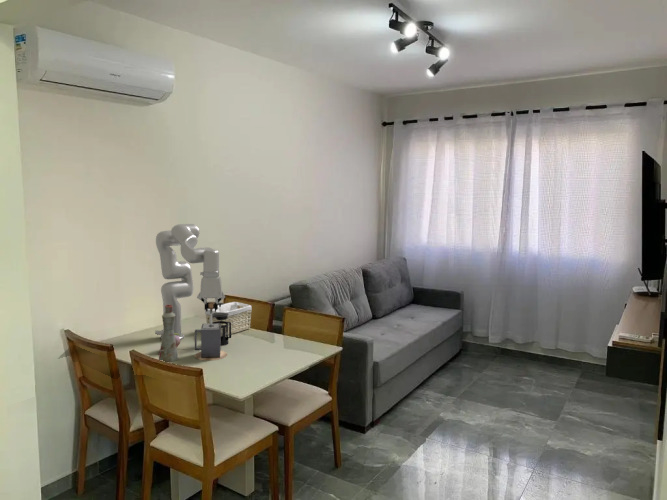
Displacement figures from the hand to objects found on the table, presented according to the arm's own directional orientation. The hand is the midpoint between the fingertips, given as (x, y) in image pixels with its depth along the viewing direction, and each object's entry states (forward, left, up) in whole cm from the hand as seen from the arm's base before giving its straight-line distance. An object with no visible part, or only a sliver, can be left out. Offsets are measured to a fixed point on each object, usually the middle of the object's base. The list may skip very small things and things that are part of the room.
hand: (211, 310), depth 251 cm
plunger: (0, 0, -15) cm, 15 cm away
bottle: (-20, -4, -24) cm, 31 cm away
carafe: (-2, 0, -23) cm, 23 cm away
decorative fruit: (-21, +11, -24) cm, 34 cm away
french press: (+4, +19, -24) cm, 31 cm away
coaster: (0, 0, -24) cm, 24 cm away
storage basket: (+8, +46, -24) cm, 52 cm away
